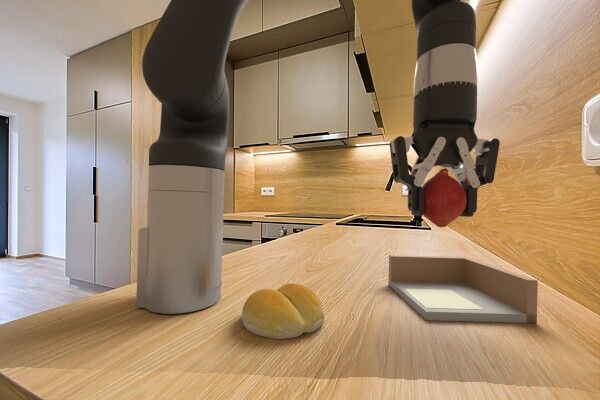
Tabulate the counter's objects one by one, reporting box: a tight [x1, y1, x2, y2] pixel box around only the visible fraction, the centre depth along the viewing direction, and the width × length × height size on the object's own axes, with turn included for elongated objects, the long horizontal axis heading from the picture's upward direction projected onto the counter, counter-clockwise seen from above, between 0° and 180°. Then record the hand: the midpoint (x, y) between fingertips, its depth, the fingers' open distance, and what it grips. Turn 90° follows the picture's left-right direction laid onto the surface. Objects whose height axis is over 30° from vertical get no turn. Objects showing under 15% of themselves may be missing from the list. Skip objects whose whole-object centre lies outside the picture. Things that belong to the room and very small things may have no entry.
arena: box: [387, 254, 539, 324], centre depth 37 cm, size 13×13×5 cm
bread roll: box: [241, 283, 326, 340], centre depth 29 cm, size 8×9×4 cm
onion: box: [422, 167, 467, 228], centre depth 36 cm, size 6×6×8 cm
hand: (441, 215), depth 35 cm, fingers closed on onion, 6 cm apart
